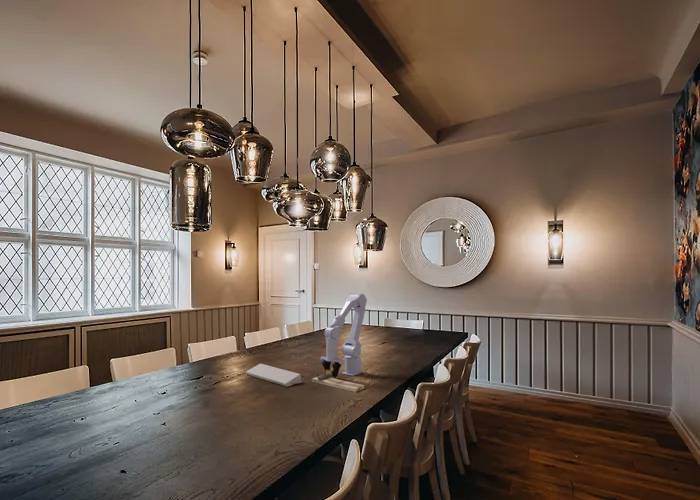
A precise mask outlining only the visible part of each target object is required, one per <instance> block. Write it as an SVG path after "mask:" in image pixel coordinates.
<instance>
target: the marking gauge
mask: <svg viewBox="0 0 700 500" xmlns="http://www.w3.org/2000/svg"><path fill="white" fill-rule="evenodd" d="M319 376H320V377H318V376H317V377H318V379H319V380H321V379H324V378H327V377H329V378H334V379H338V378H339V375H338V376H337V377H334V371H333V367H330V369H327V370H326V373H325V374H323V375H319ZM338 380H339V379H338Z"/></svg>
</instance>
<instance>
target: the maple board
mask: <svg viewBox="0 0 700 500" xmlns="http://www.w3.org/2000/svg"><path fill="white" fill-rule="evenodd" d="M320 376H321V375H319V376H315V377H313V378H311V382H312V383H316V384H320V385H324V386H329V387H332V388H337V389H341V390H345V391H349V392H354V393H357V392H359V391H362V390H364V389H365V385H364V384H361V383H356V382H351V381H346V380H342V379H334V378H329V377H327V378H324V379H321V380H319V379H318V377H320Z"/></svg>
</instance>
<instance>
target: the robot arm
mask: <svg viewBox="0 0 700 500" xmlns="http://www.w3.org/2000/svg"><path fill="white" fill-rule="evenodd" d="M367 302H368V299H367V297H366V295H365V294H364V293H349V294H348V295H347V297H346V299H345V304H344V305H343V307H342V309H341V311H340V313H339V314H337V315H335V316H334V319H333V320H332V322H331V323H330V325H329V326H328V327H326V328H325V330H324V332H323V335H324V337H325V342H326V343H325V344H326V349H325V350H326V352H325V353H326V356H323V355H322V356H320V359H319V360H320V361H321V365H322V366H323V369H324V371H325V374H326V370H327V369H330V368H331V366H332V368H333V371H334V377H337V376H338V377H339V372H340V368H341V366H342V365H343V364H344V371H343V372H341V374H342V375H346V376H347V375H348V376H352V377H353V376H356V375H359V374H362V373H364V372H363V371H362V369H363V367H362V358H361V357H360V356H361V354H362V350H361V349H362V348H361V347H362V343H360V341H359V339H360V334H361V330H362V327H363V322H364V318H365V313H366V306H367ZM352 309H353V310H354V311H355V312H354V315H353V319H352V324H351V328H350V333H349V336H348V339H346V340H345V341H344V344H343V345H342V348H341V352H342V354H343V357H344V359H341V358H338V337H339V336H340V333H341V329H342V328H343V325H344V324H345V322H346V317H347V316H348V314H349V313H350V311H351V310H352ZM322 361H323V362H322Z"/></svg>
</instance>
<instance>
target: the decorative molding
mask: <svg viewBox="0 0 700 500" xmlns="http://www.w3.org/2000/svg"><path fill="white" fill-rule="evenodd" d="M245 374H246V375H248V376H250V377H253V378H257V379H260V380H263V381H267V382H270V383H273V384H276V385H279V386H283V387H286V388H287V387H291V386H294V385H295V384H301V383H303V381H302V376H301V375H302V374H300V373H297V372H294V371H290V370H287V369H283V368H280V367H275V366H272V365H267V364H263V363H259V364H256V365H255V366H253V367H252V368H250V369H248V370H246V371H245Z"/></svg>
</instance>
